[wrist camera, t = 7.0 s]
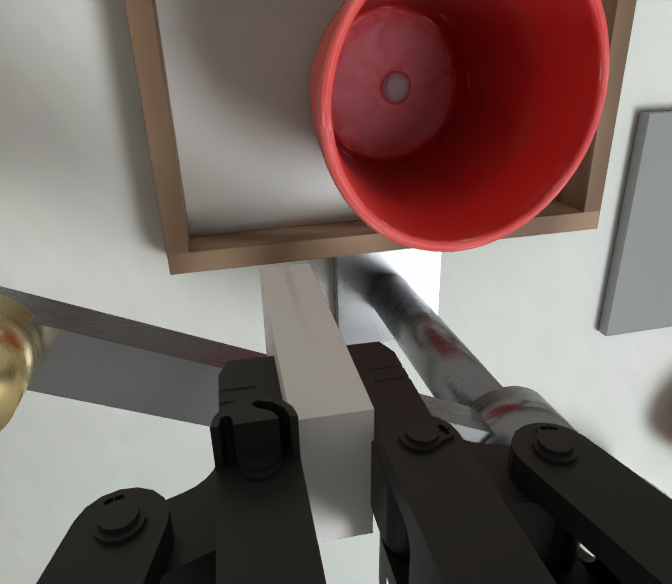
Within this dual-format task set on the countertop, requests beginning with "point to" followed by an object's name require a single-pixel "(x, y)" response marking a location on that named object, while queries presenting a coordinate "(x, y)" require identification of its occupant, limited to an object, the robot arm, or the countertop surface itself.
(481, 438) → the bar
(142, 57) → the wooden tray
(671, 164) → the plate
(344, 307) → the post
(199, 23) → the countertop surface
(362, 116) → the flower pot
